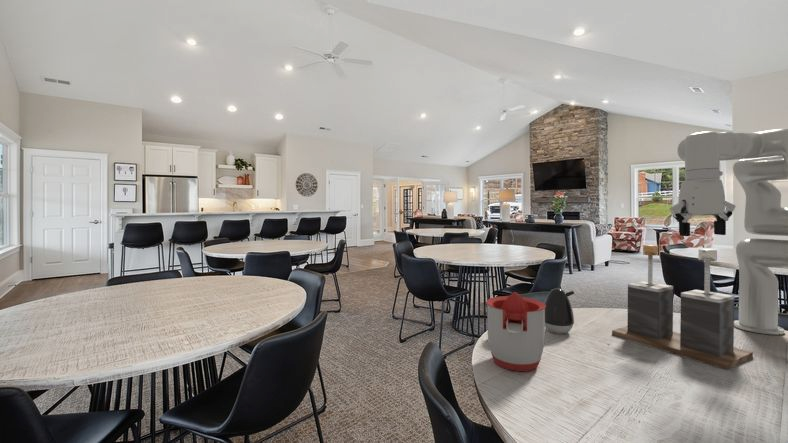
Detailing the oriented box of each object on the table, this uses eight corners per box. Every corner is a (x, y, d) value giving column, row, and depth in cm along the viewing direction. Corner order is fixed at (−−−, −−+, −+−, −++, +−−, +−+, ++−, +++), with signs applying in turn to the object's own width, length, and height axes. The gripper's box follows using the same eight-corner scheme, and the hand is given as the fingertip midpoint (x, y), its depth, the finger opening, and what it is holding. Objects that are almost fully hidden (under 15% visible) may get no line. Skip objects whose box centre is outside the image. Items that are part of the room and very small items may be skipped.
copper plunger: (644, 303, 120) (644, 244, 120) (667, 307, 114) (668, 245, 114) (632, 305, 117) (633, 245, 117) (656, 310, 111) (656, 247, 110)
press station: (639, 326, 126) (639, 278, 126) (752, 357, 100) (753, 296, 99) (612, 334, 119) (612, 283, 119) (727, 369, 92) (728, 303, 92)
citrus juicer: (483, 373, 92) (482, 298, 91) (489, 349, 108) (488, 284, 107) (548, 383, 86) (548, 302, 86) (544, 355, 103) (544, 287, 102)
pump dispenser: (578, 337, 117) (578, 292, 116) (545, 335, 119) (545, 291, 119) (569, 327, 127) (569, 285, 126) (539, 325, 129) (539, 284, 129)
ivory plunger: (697, 314, 107) (698, 247, 107) (727, 320, 101) (728, 250, 100) (686, 317, 104) (687, 249, 103) (716, 324, 98) (717, 251, 97)
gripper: (722, 175, 104) (722, 233, 105) (661, 178, 105) (661, 235, 106) (746, 173, 97) (745, 235, 98) (680, 176, 98) (680, 237, 99)
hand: (702, 235), depth 102 cm, fingers open, 9 cm apart
